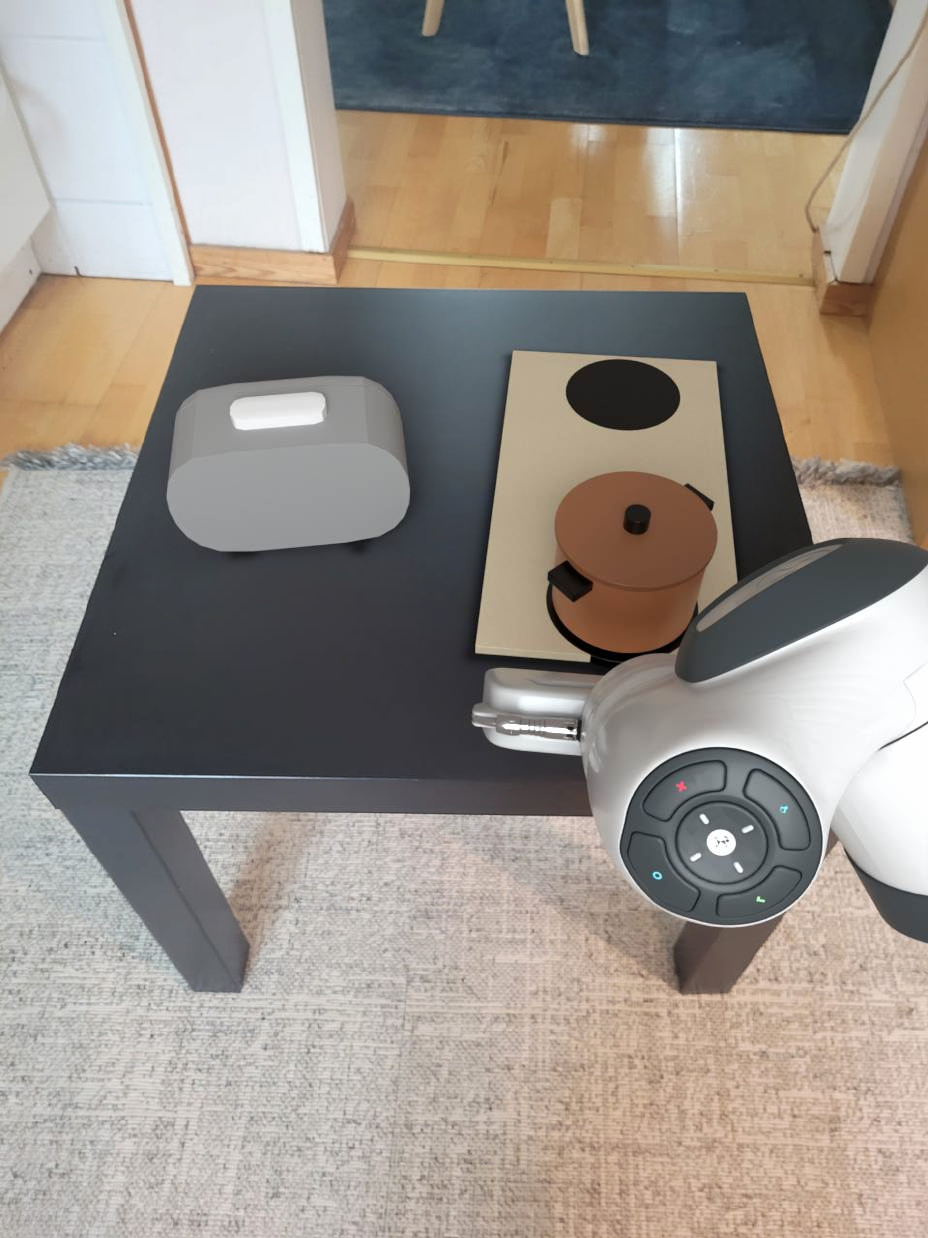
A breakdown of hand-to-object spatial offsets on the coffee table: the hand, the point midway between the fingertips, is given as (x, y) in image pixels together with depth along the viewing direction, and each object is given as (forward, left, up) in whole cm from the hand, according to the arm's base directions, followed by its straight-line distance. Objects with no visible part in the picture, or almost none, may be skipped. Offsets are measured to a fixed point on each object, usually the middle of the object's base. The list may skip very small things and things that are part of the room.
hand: (637, 692), depth 63 cm
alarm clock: (+30, -24, -11) cm, 40 cm away
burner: (0, -44, -10) cm, 46 cm away
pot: (0, -16, -9) cm, 19 cm away
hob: (+1, -30, -10) cm, 32 cm away
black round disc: (0, -16, -10) cm, 19 cm away
